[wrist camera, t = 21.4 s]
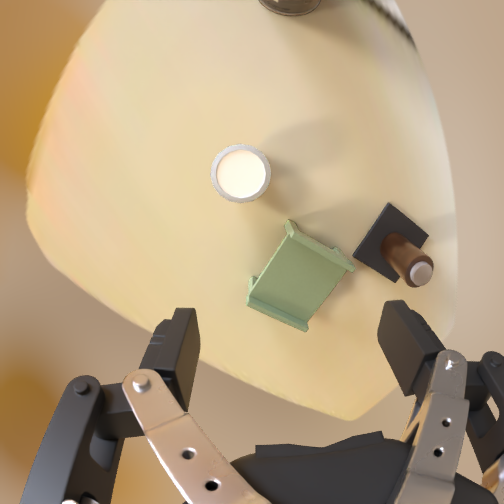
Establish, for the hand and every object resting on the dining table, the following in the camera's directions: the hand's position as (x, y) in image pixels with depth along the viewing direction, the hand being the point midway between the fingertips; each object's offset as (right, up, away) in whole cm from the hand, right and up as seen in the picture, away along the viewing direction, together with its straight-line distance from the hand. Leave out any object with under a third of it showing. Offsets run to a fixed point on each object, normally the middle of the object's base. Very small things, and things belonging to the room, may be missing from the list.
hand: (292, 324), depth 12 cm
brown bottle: (+21, +4, +30) cm, 37 cm away
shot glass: (-3, +14, +27) cm, 31 cm away
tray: (+5, +1, +32) cm, 33 cm away
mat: (+21, +4, +31) cm, 37 cm away
